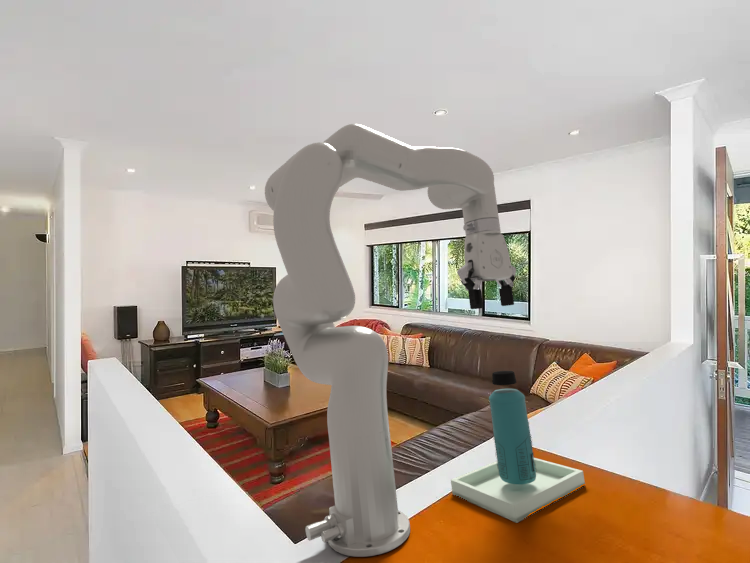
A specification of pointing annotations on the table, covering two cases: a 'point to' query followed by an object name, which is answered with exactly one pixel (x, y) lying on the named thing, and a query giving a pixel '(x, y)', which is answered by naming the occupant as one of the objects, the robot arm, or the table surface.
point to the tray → (516, 489)
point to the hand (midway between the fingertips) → (492, 307)
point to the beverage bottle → (511, 432)
